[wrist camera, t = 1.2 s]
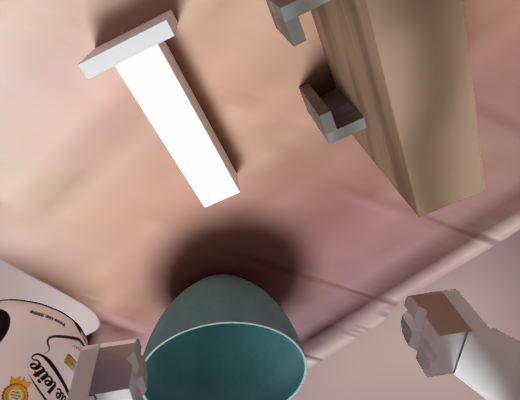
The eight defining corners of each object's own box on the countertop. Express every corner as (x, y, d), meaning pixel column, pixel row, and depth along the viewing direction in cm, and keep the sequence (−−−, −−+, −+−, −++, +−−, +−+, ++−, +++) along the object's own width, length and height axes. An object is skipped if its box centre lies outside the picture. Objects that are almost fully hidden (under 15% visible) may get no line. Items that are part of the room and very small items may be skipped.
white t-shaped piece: (95, 47, 35) (77, 64, 30) (171, 9, 34) (166, 20, 29) (189, 194, 44) (188, 226, 39) (251, 166, 44) (258, 195, 39)
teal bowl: (179, 354, 59) (175, 441, 48) (126, 267, 49) (106, 353, 38) (298, 321, 58) (319, 402, 48) (268, 226, 48) (287, 302, 38)
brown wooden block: (341, -107, 31) (445, -146, 18) (394, 112, 42) (485, 190, 29) (244, -57, 32) (276, -59, 19) (320, 145, 43) (375, 235, 30)
